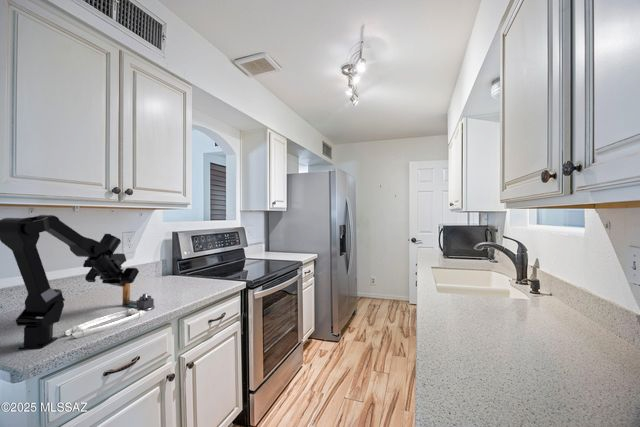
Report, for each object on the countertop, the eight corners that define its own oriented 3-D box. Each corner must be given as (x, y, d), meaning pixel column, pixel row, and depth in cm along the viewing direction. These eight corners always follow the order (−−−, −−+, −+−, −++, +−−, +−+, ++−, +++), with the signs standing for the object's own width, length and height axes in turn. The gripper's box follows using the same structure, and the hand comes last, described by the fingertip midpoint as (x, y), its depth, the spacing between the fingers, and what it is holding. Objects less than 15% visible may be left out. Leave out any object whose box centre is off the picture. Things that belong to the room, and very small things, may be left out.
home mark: (138, 304, 125) (138, 304, 125) (131, 306, 123) (131, 306, 123) (134, 303, 127) (134, 302, 127) (127, 305, 124) (127, 304, 124)
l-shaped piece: (153, 306, 122) (154, 272, 122) (144, 310, 118) (144, 274, 118) (128, 302, 127) (129, 269, 127) (118, 305, 123) (119, 271, 123)
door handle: (58, 337, 94) (133, 312, 117) (77, 342, 90) (150, 316, 114) (58, 328, 94) (133, 305, 117) (77, 334, 90) (150, 309, 114)
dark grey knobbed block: (150, 311, 118) (150, 296, 118) (131, 311, 117) (131, 296, 117) (157, 305, 125) (157, 291, 125) (140, 306, 124) (140, 292, 124)
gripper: (136, 248, 117) (152, 270, 128) (91, 247, 118) (111, 268, 129) (122, 271, 109) (140, 292, 121) (74, 270, 110) (97, 291, 121)
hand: (122, 285), depth 123 cm, fingers closed
